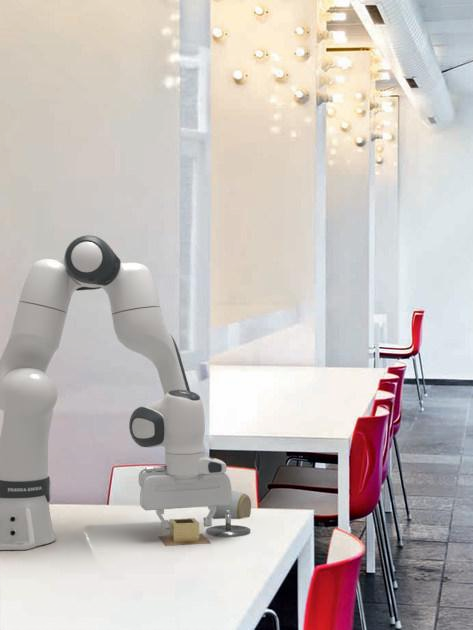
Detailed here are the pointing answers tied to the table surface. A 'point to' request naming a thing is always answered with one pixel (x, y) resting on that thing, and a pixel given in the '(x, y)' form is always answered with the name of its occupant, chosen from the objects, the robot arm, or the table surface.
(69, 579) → the table surface
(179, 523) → the collar
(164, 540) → the stand
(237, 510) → the grey cylinder tan end
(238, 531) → the stand
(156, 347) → the robot arm
